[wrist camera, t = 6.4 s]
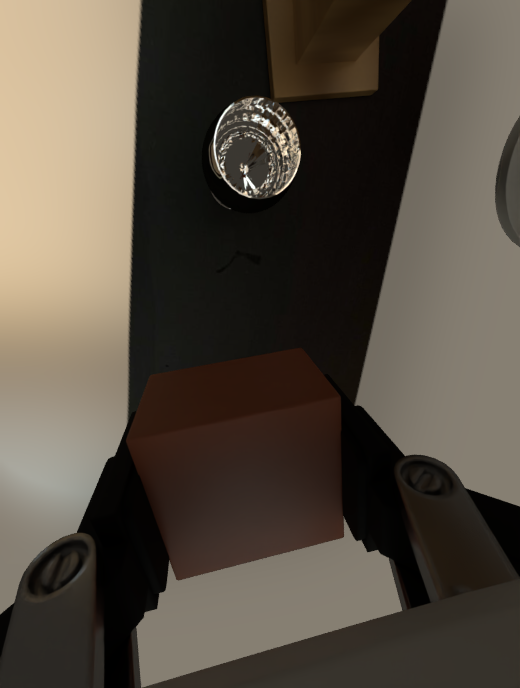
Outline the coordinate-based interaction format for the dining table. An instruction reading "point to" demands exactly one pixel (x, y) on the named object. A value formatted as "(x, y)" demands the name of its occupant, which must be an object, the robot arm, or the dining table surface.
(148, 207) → the dining table surface
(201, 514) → the block
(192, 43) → the dining table surface
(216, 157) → the wineglass
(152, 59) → the dining table surface
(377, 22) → the pedestal
